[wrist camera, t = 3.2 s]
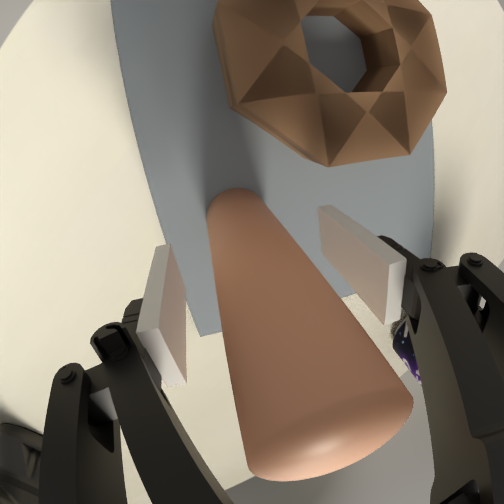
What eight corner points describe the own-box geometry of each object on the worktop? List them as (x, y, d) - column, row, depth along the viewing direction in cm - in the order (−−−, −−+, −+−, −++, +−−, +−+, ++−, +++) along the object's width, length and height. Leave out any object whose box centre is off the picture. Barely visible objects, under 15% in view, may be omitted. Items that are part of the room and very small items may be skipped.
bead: (242, 170, 18) (254, 182, 15) (201, -23, 12) (204, -52, 9) (416, 142, 20) (451, 150, 16) (385, -18, 13) (415, -33, 10)
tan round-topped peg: (214, 251, 20) (263, 491, 6) (199, 196, 19) (227, 432, 4) (270, 237, 21) (396, 444, 6) (260, 181, 19) (430, 359, 5)
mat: (199, 332, 24) (200, 336, 23) (112, 3, 12) (110, 0, 12) (425, 264, 26) (429, 267, 25) (400, -12, 14) (404, -14, 14)
